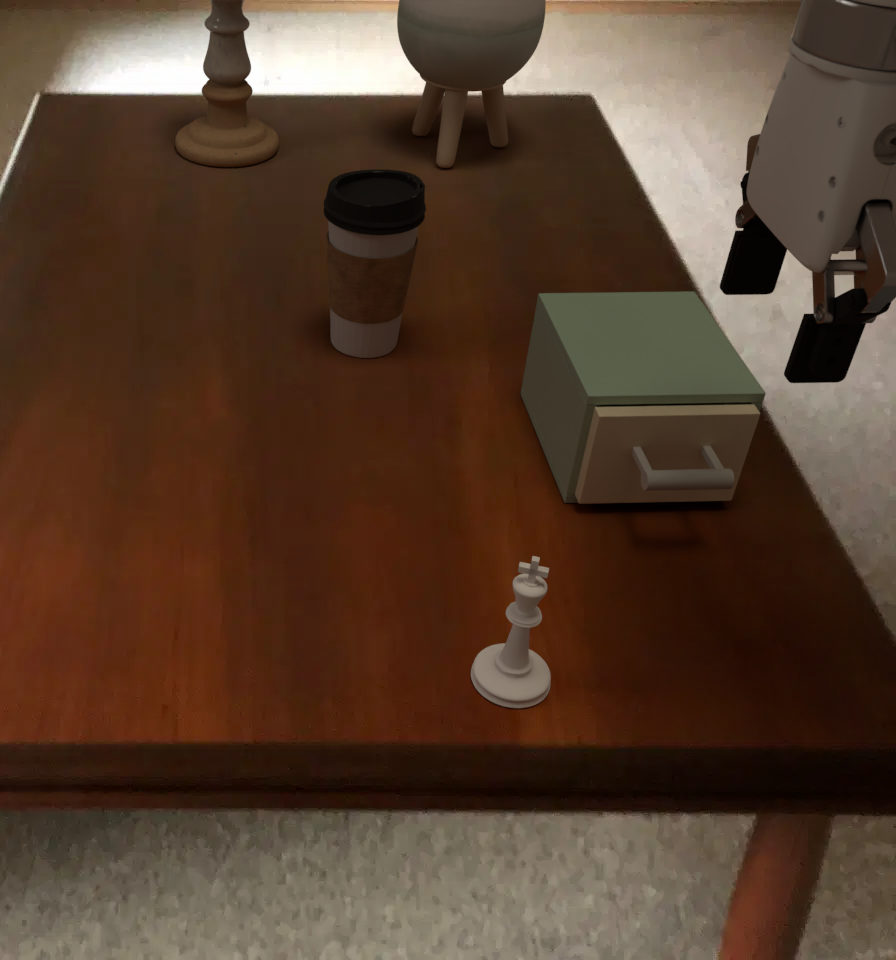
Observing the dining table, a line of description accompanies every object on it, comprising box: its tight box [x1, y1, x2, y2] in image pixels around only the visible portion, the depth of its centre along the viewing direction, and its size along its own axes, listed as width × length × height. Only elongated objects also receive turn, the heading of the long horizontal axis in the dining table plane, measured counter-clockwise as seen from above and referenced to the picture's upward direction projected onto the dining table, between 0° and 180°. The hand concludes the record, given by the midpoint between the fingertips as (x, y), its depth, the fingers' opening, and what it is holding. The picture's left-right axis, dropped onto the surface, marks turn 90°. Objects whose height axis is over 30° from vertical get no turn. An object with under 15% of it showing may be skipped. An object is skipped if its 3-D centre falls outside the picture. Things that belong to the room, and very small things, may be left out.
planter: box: [396, 0, 547, 169], centre depth 133 cm, size 16×16×22 cm
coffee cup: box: [323, 169, 427, 359], centre depth 101 cm, size 8×8×15 cm
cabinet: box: [520, 291, 767, 504], centre depth 91 cm, size 15×13×10 cm
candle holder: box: [174, 0, 280, 168], centre depth 134 cm, size 12×12×20 cm
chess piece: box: [470, 555, 552, 709], centre depth 71 cm, size 5×5×10 cm
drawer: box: [575, 403, 761, 505], centre depth 88 cm, size 18×11×8 cm, turn 3°
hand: (777, 333), depth 68 cm, fingers open, 9 cm apart
